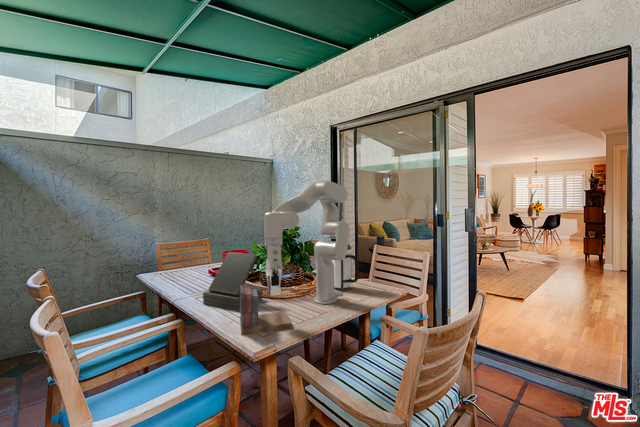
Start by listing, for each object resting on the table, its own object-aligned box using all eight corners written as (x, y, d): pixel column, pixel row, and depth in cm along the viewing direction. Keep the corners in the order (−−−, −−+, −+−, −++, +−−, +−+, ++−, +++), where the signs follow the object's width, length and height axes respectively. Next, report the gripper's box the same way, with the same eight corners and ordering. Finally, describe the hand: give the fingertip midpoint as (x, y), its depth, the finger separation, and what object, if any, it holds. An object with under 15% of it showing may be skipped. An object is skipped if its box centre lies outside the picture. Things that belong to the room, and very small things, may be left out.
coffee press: (328, 292, 171) (328, 240, 170) (328, 284, 187) (328, 237, 186) (358, 292, 171) (358, 240, 170) (356, 284, 187) (356, 237, 186)
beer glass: (274, 290, 131) (274, 256, 131) (285, 293, 127) (285, 258, 127) (262, 294, 126) (261, 259, 126) (273, 297, 122) (272, 261, 121)
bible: (203, 304, 153) (202, 256, 152) (231, 294, 170) (230, 250, 170) (236, 311, 142) (235, 259, 142) (262, 300, 160) (262, 253, 159)
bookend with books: (285, 315, 135) (285, 280, 135) (291, 327, 122) (291, 289, 122) (240, 321, 130) (239, 284, 129) (241, 334, 116) (240, 293, 116)
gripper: (285, 243, 119) (286, 288, 119) (279, 238, 135) (279, 278, 136) (267, 244, 117) (267, 289, 117) (262, 239, 133) (262, 279, 134)
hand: (273, 283), depth 126 cm, fingers closed on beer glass, 6 cm apart
